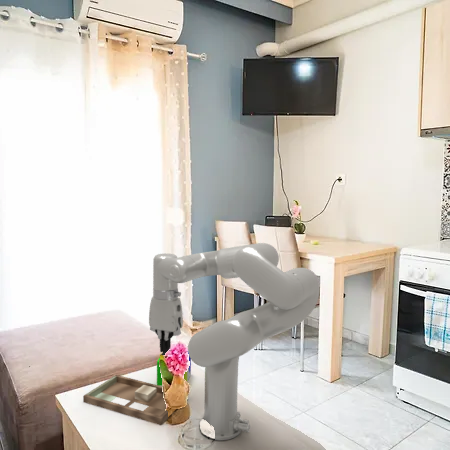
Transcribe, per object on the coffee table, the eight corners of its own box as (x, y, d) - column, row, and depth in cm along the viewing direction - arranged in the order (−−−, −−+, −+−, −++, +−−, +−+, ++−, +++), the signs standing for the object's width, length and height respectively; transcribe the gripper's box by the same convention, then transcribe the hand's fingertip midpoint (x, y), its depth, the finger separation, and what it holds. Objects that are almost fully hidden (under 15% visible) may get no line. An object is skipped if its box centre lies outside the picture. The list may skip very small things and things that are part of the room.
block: (156, 395, 133) (156, 387, 133) (147, 402, 128) (147, 395, 128) (143, 391, 135) (143, 384, 135) (134, 398, 130) (134, 391, 130)
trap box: (188, 403, 131) (188, 393, 131) (160, 430, 117) (160, 418, 116) (116, 384, 143) (116, 374, 143) (83, 406, 128) (83, 395, 128)
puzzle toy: (190, 377, 149) (190, 351, 148) (185, 391, 139) (185, 363, 138) (164, 376, 150) (164, 350, 149) (156, 389, 140) (156, 361, 139)
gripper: (192, 294, 126) (191, 350, 127) (152, 288, 132) (152, 342, 134) (180, 300, 119) (179, 360, 121) (138, 293, 125) (138, 350, 127)
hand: (165, 350), depth 127 cm, fingers closed
